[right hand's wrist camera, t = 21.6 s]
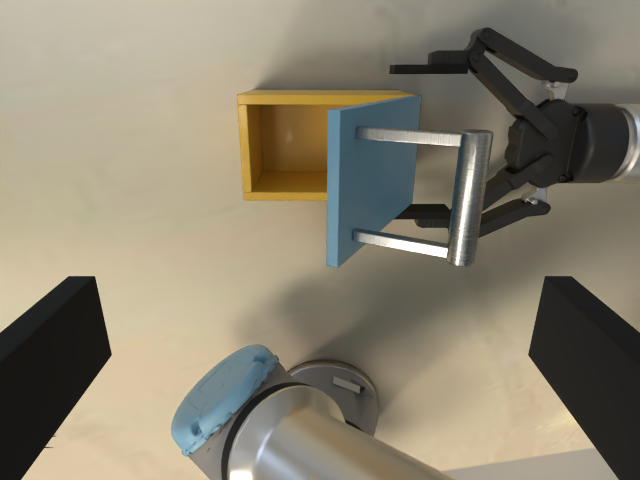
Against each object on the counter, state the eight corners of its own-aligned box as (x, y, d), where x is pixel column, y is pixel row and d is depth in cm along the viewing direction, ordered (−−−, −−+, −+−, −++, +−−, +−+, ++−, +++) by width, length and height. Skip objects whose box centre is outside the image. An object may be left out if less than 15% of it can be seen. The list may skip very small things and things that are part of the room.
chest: (257, 176, 50) (243, 200, 41) (253, 89, 47) (236, 94, 37) (391, 176, 50) (407, 201, 41) (397, 89, 47) (416, 95, 37)
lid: (326, 265, 27) (463, 296, 24) (327, 109, 24) (489, 117, 20) (404, 201, 41) (500, 215, 37) (412, 95, 37) (519, 98, 34)
